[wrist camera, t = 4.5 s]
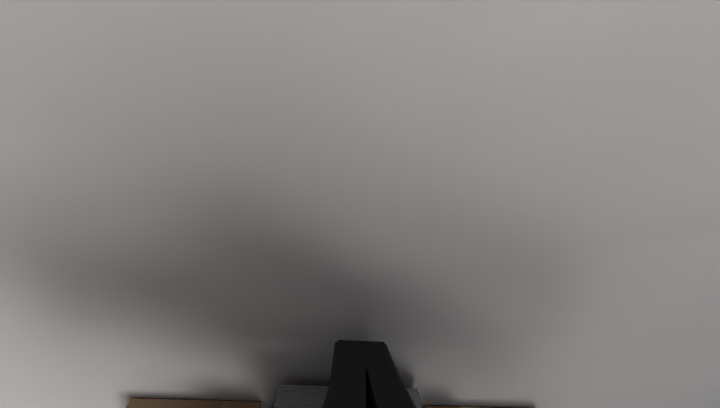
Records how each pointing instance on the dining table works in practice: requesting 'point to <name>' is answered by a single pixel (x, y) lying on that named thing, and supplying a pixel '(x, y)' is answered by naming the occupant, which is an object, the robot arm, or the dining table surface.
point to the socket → (212, 404)
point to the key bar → (315, 396)
